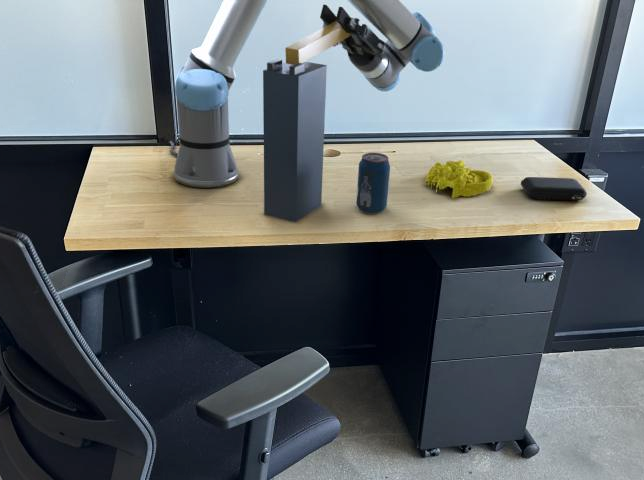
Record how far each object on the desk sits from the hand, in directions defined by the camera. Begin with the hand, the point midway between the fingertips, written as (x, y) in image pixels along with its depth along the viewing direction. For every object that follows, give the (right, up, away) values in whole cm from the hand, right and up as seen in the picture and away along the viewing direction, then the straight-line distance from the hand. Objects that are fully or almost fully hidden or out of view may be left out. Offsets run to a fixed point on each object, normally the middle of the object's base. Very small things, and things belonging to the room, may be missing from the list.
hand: (331, 12), depth 155 cm
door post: (-9, -39, +11) cm, 41 cm away
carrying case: (+54, -32, +26) cm, 68 cm away
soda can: (+9, -38, +13) cm, 42 cm away
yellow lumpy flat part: (+31, -29, +29) cm, 51 cm away
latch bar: (-2, -7, +1) cm, 7 cm away
